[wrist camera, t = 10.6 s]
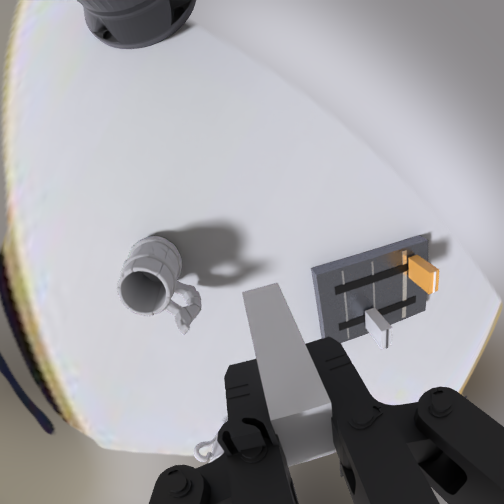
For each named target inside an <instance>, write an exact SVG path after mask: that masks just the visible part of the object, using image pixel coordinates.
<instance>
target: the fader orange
mask: <svg viewBox="0 0 504 504" xmlns="http://www.w3.org/2000/svg"><path fill="white" fill-rule="evenodd" d="M408 259H409V278H410V279H411V280H412V281H413V282H415V283H416V284H417V285H418V286H420V287H421V288H422V289H423V290H424V291H426V292H427V293H428V294H431V293H435V292H436V291H438V281H439V269H437V268H436V267H435V266H433V265H432V264H430V263H429V262H427V261H426V260H424V259H423V258H421V257H420V256H418V255H415V256H412V257H409V258H408Z"/></svg>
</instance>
